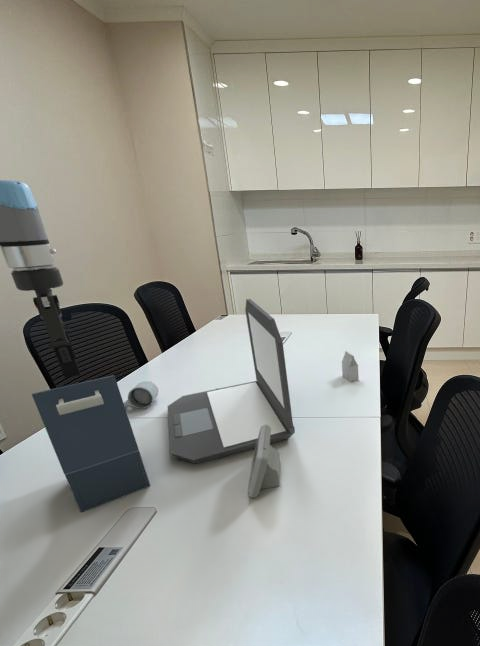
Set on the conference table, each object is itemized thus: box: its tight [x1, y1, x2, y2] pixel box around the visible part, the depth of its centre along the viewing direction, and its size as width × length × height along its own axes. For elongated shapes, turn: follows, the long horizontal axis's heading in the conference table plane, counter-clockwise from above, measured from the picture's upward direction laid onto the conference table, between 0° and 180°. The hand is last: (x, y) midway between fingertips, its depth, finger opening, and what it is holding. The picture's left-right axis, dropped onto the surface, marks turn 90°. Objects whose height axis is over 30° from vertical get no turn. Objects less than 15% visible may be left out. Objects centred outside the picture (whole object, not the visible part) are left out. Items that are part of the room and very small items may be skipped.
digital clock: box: [247, 425, 282, 499], centre depth 92 cm, size 16×9×11 cm, turn 179°
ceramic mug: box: [123, 380, 159, 410], centre depth 131 cm, size 11×8×8 cm
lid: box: [31, 374, 140, 475], centre depth 78 cm, size 18×14×9 cm
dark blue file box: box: [64, 449, 151, 513], centre depth 92 cm, size 17×14×10 cm
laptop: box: [167, 298, 296, 464], centre depth 113 cm, size 43×31×34 cm
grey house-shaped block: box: [341, 350, 360, 383], centre depth 147 cm, size 4×7×10 cm, turn 27°
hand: (70, 367), depth 86 cm, fingers open, 13 cm apart
